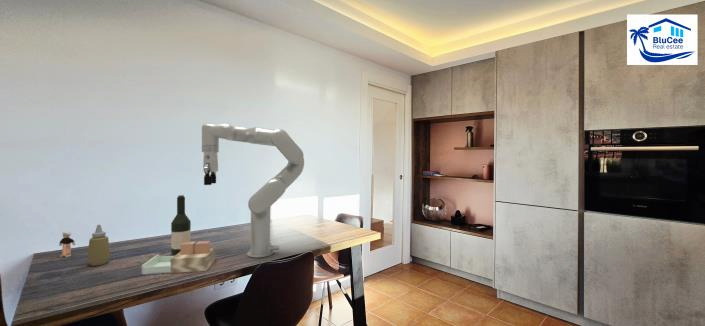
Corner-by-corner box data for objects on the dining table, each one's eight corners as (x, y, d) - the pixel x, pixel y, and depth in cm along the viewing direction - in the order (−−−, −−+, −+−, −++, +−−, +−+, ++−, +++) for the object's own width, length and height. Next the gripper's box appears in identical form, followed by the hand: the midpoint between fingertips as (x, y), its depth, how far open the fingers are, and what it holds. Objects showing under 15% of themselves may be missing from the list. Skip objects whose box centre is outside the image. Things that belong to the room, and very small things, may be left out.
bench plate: (215, 259, 139) (215, 247, 139) (206, 270, 125) (206, 256, 125) (183, 261, 136) (183, 248, 136) (170, 273, 122) (170, 258, 122)
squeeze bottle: (114, 262, 136) (114, 223, 135) (94, 268, 128) (94, 227, 128) (103, 260, 138) (103, 222, 138) (82, 265, 131) (82, 226, 130)
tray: (183, 261, 136) (183, 253, 136) (170, 273, 122) (170, 263, 122) (157, 263, 134) (157, 254, 134) (141, 274, 120) (141, 265, 120)
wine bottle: (181, 258, 141) (181, 196, 141) (167, 257, 142) (167, 196, 142) (194, 253, 149) (194, 194, 149) (180, 252, 151) (180, 194, 150)
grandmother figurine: (54, 258, 141) (54, 232, 141) (60, 255, 145) (60, 230, 145) (73, 257, 143) (72, 231, 143) (78, 254, 146) (78, 229, 146)
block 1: (196, 251, 133) (196, 241, 132) (192, 254, 129) (192, 244, 129) (184, 252, 132) (184, 242, 132) (180, 254, 128) (180, 244, 128)
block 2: (210, 250, 134) (210, 240, 134) (207, 253, 130) (207, 243, 130) (198, 251, 133) (198, 241, 133) (195, 254, 129) (195, 243, 129)
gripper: (214, 148, 135) (214, 185, 135) (222, 150, 152) (222, 182, 152) (196, 148, 133) (196, 185, 133) (206, 149, 150) (206, 182, 150)
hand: (210, 184), depth 143 cm, fingers open, 9 cm apart
